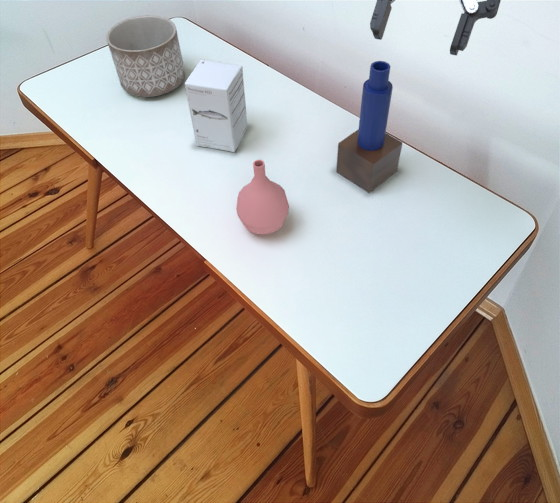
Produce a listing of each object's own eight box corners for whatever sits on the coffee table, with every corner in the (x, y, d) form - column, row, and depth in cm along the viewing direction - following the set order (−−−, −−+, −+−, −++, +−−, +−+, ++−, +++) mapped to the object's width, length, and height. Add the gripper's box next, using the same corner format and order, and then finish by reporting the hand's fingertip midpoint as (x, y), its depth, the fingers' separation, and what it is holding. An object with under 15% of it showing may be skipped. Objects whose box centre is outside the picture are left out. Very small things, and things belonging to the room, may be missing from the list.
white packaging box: (195, 147, 89) (181, 83, 79) (211, 121, 94) (200, 57, 84) (235, 154, 88) (226, 89, 78) (249, 127, 92) (243, 63, 82)
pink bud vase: (248, 249, 75) (240, 190, 65) (231, 214, 79) (222, 153, 70) (297, 233, 76) (296, 173, 67) (278, 199, 81) (275, 138, 71)
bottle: (389, 142, 79) (401, 66, 69) (371, 154, 78) (382, 78, 67) (369, 130, 81) (378, 54, 71) (351, 142, 80) (359, 66, 69)
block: (397, 171, 84) (402, 142, 79) (369, 193, 81) (373, 164, 76) (364, 151, 87) (367, 122, 82) (336, 171, 84) (338, 143, 80)
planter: (187, 62, 106) (178, 13, 98) (184, 99, 98) (173, 48, 90) (126, 66, 106) (111, 17, 98) (118, 103, 98) (101, 53, 90)
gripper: (394, -142, 52) (345, 20, 55) (541, -129, 48) (481, 47, 50) (402, -99, 59) (359, 43, 62) (532, -84, 55) (479, 68, 58)
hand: (414, 45), depth 56 cm, fingers open, 8 cm apart
